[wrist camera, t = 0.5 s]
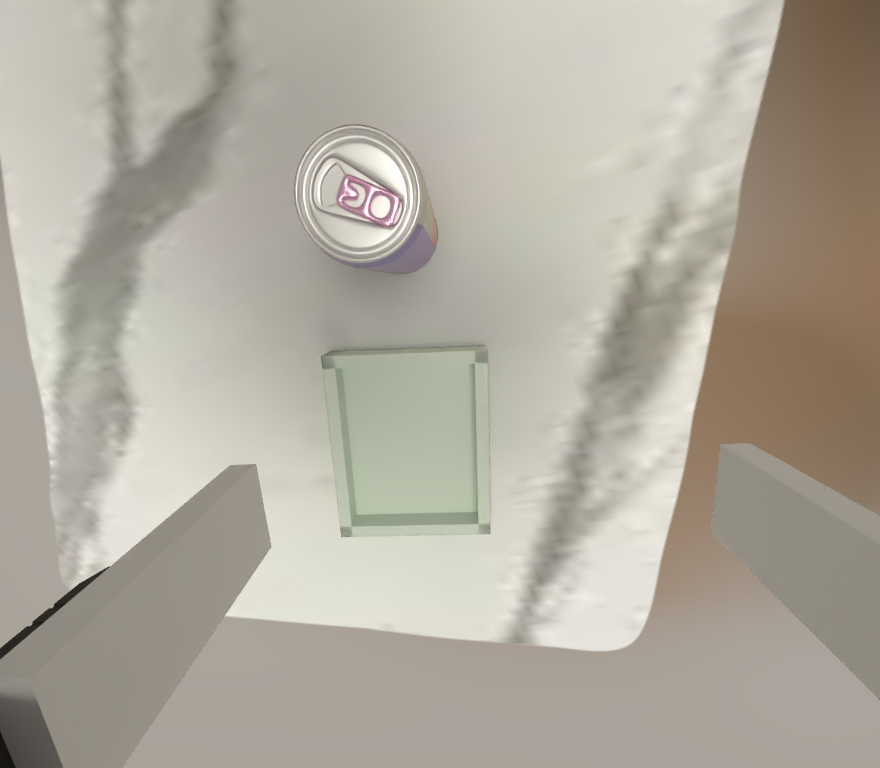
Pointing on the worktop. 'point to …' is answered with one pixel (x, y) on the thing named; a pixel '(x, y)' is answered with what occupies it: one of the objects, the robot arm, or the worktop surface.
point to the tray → (410, 440)
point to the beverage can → (365, 201)
